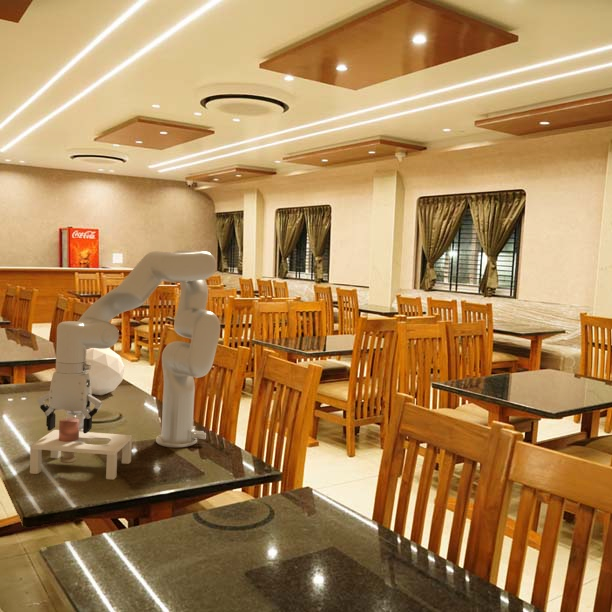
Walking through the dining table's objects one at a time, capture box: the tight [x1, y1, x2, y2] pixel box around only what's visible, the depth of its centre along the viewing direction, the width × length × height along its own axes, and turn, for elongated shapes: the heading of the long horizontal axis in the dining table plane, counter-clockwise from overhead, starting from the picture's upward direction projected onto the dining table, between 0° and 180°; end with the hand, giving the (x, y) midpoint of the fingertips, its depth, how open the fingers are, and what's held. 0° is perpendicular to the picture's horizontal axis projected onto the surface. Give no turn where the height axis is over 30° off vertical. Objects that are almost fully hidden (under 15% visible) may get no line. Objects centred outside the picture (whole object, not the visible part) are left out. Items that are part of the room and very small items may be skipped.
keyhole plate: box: [29, 429, 133, 480], centre depth 164 cm, size 22×14×8 cm, turn 88°
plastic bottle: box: [65, 410, 85, 443], centre depth 182 cm, size 6×7×20 cm
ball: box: [86, 347, 125, 396], centre depth 244 cm, size 19×20×20 cm
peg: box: [58, 417, 79, 464], centre depth 164 cm, size 5×5×11 cm
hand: (68, 430), depth 163 cm, fingers open, 9 cm apart
